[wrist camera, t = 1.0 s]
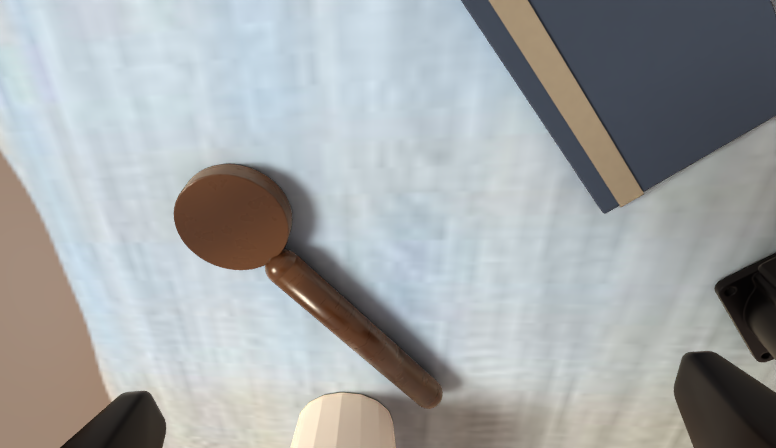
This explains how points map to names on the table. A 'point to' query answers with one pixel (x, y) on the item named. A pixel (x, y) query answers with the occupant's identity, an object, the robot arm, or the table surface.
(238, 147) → the table surface
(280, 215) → the spoon
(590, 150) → the notebook
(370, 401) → the white tumbler
